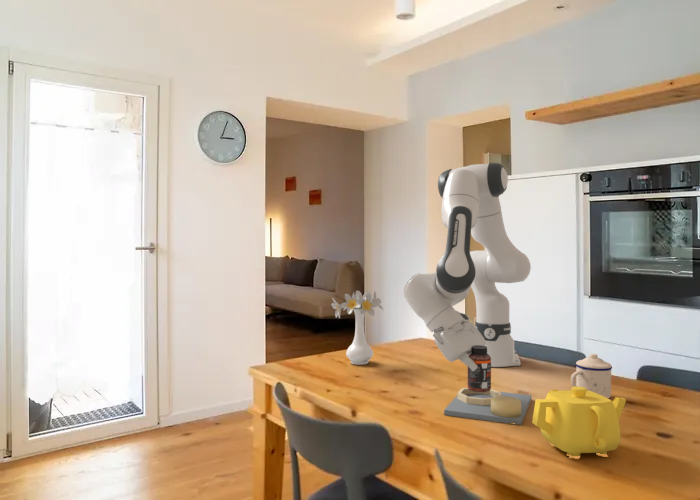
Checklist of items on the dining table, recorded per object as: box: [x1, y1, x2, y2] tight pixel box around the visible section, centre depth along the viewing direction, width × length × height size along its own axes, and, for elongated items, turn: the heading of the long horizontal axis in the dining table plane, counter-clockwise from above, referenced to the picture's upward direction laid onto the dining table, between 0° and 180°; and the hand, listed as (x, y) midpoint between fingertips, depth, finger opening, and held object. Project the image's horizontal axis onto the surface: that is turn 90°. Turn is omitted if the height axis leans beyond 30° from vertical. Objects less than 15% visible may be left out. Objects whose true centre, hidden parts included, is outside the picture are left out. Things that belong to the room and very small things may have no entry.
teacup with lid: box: [570, 353, 613, 399], centre depth 147 cm, size 12×9×12 cm
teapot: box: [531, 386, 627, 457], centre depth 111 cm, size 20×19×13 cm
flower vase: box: [330, 290, 384, 366], centre depth 187 cm, size 13×18×25 cm
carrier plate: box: [443, 387, 532, 426], centre depth 138 cm, size 22×18×4 cm
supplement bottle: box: [467, 345, 492, 392], centre depth 141 cm, size 6×6×11 cm
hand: (481, 366), depth 140 cm, fingers closed on supplement bottle, 6 cm apart
